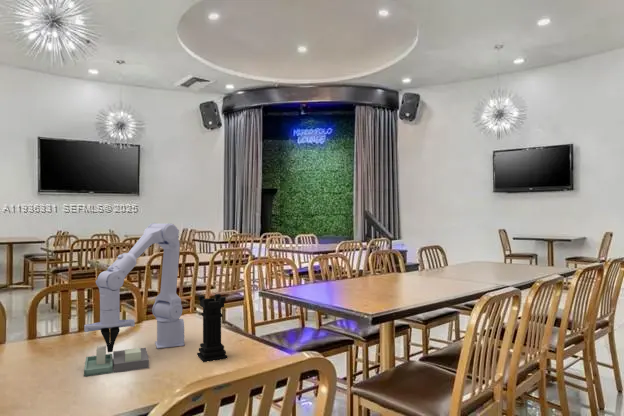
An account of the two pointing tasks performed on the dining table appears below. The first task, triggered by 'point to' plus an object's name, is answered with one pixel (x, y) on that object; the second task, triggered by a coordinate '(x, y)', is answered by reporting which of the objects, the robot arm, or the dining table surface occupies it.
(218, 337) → the chess piece
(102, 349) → the cream tile
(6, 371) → the dining table surface
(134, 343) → the dining table surface
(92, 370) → the tray
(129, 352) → the sage tile
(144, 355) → the charcoal board
